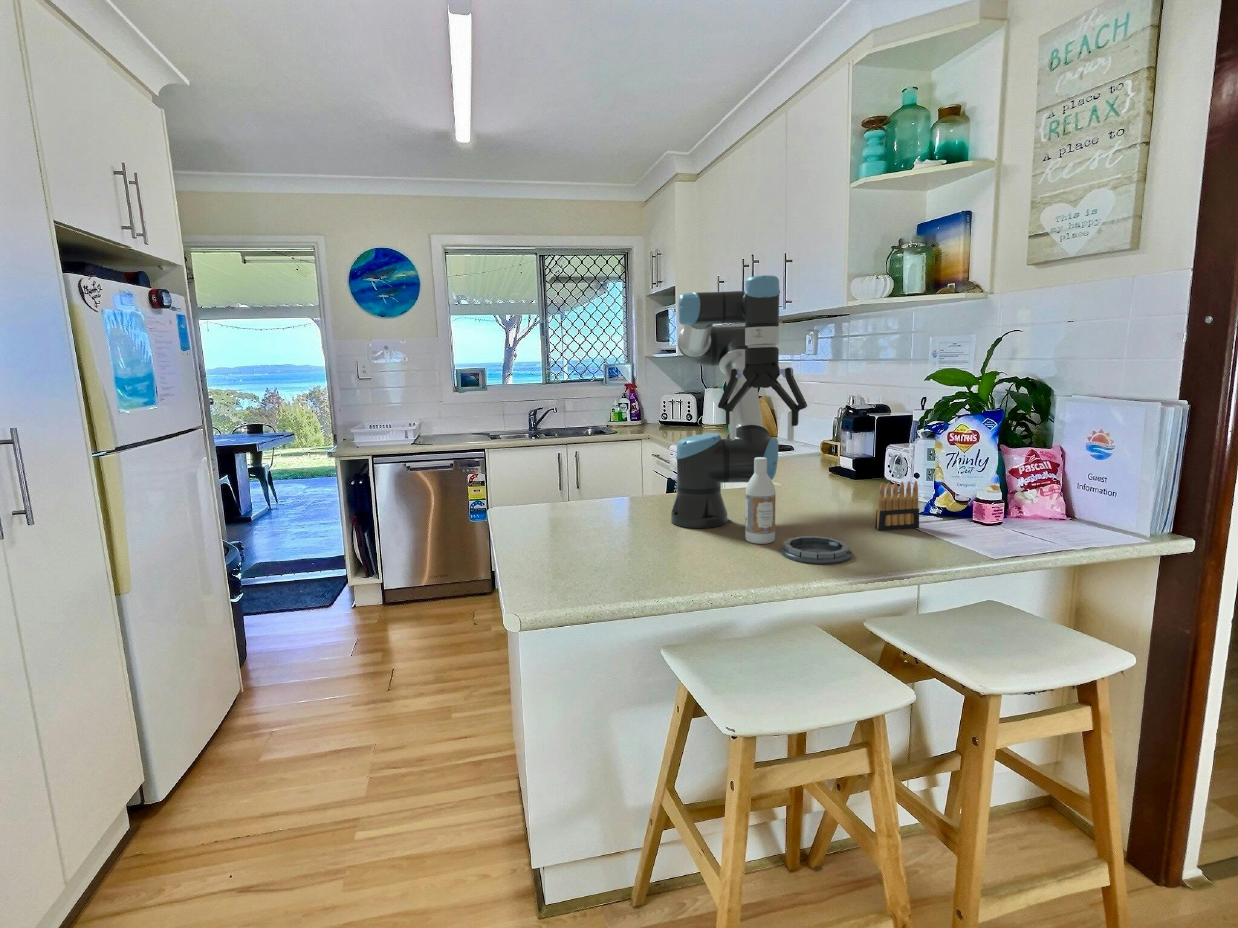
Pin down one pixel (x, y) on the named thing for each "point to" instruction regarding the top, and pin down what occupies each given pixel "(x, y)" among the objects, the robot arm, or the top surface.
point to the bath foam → (760, 505)
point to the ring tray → (816, 550)
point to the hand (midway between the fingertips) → (761, 439)
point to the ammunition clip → (897, 508)
